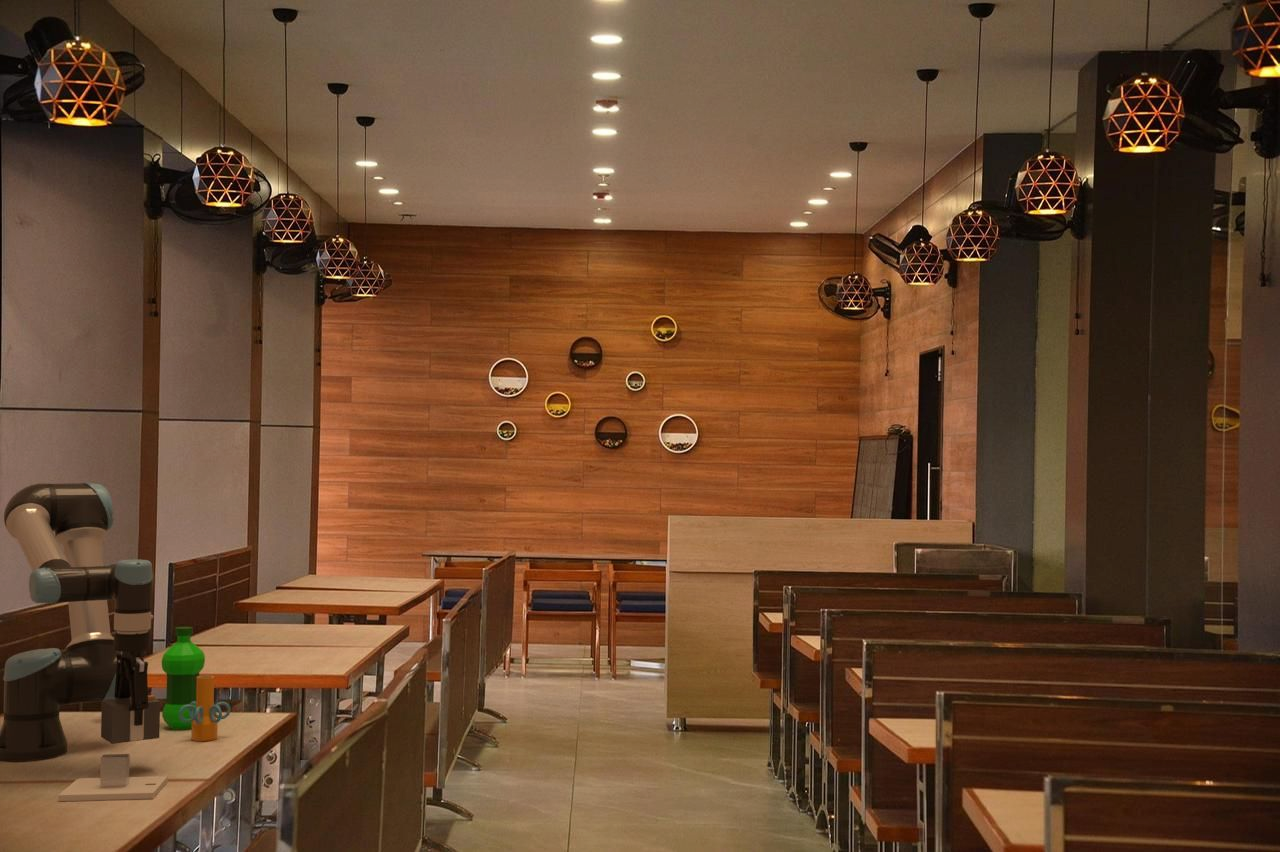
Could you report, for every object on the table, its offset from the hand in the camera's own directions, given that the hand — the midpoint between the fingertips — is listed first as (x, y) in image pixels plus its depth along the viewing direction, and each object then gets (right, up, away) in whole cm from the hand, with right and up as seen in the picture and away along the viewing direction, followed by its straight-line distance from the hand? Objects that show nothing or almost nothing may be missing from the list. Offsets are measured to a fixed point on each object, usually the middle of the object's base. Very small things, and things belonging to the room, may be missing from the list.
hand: (130, 736), depth 291 cm
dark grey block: (0, 0, 0) cm, 0 cm away
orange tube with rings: (+6, -9, +33) cm, 34 cm away
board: (+4, -7, -18) cm, 20 cm away
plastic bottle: (-4, -9, +46) cm, 47 cm away
